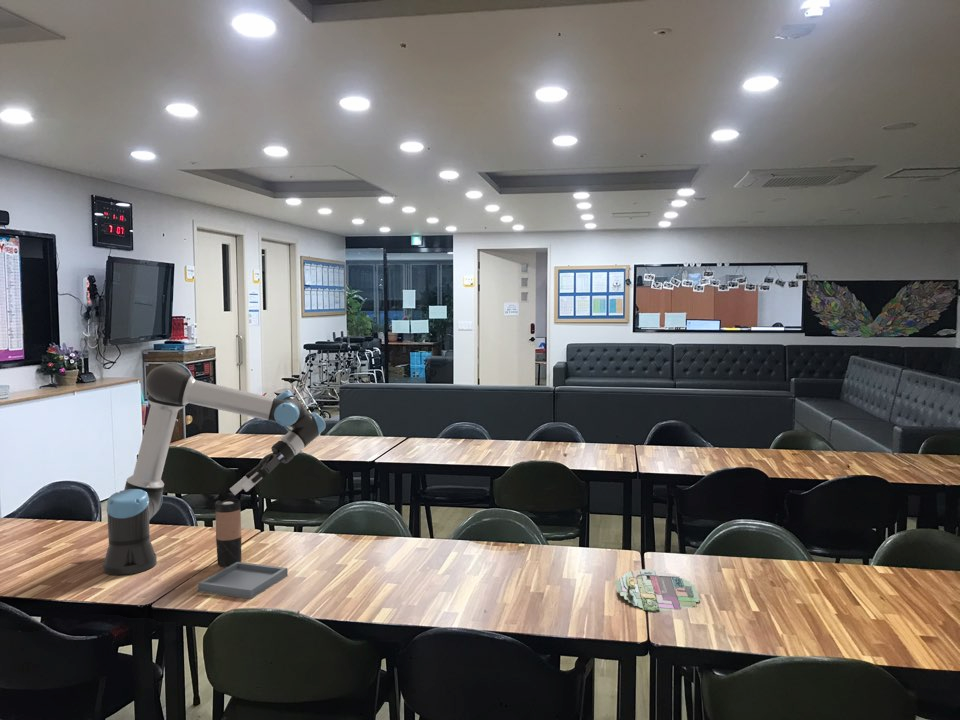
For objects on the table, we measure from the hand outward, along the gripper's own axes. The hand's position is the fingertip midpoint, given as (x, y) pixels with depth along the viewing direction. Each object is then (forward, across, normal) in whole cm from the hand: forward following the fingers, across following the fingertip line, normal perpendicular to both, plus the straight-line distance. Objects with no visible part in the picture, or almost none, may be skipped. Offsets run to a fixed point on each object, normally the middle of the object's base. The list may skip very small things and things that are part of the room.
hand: (237, 490), depth 227 cm
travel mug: (+15, +6, -17) cm, 23 cm away
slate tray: (+19, -14, -21) cm, 31 cm away
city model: (-46, -87, -90) cm, 133 cm away
